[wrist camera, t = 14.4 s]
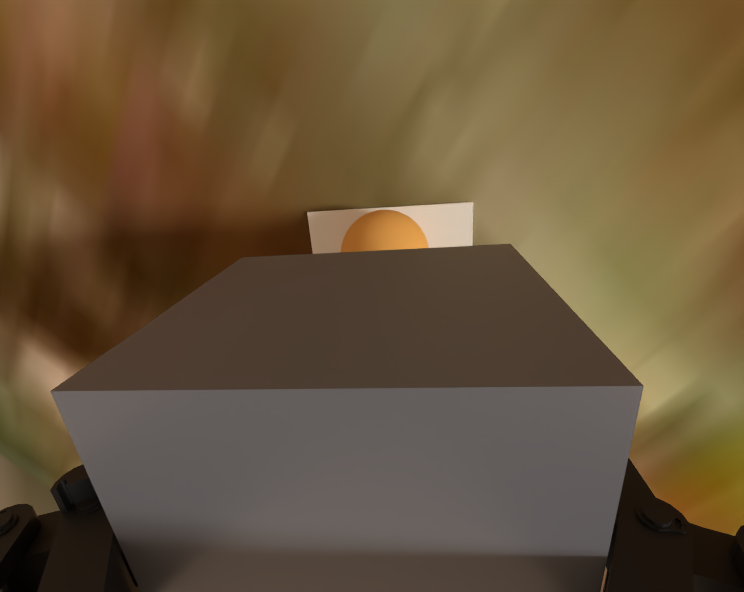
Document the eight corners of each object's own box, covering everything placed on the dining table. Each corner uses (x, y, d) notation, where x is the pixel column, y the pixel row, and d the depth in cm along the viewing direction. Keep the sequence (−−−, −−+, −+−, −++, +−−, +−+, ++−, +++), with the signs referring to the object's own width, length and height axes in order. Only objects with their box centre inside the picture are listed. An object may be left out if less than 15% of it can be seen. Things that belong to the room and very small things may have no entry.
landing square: (307, 211, 24) (307, 212, 24) (472, 201, 23) (473, 202, 23) (327, 352, 28) (326, 353, 28) (469, 350, 27) (470, 351, 27)
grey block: (241, 257, 15) (50, 391, 7) (510, 243, 14) (643, 386, 6) (283, 458, 19) (188, 696, 11) (498, 461, 18) (570, 730, 10)
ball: (342, 316, 23) (350, 256, 26) (428, 316, 22) (426, 255, 25) (328, 252, 19) (340, 192, 22) (432, 251, 18) (428, 190, 22)
